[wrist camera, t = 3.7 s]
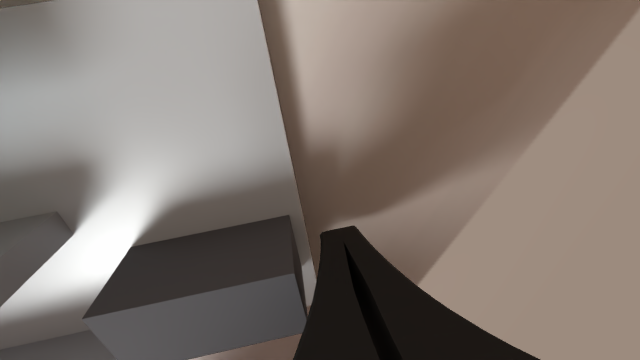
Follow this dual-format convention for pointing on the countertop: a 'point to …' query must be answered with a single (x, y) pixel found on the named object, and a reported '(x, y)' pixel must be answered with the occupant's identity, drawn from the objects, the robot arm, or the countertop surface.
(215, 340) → the grey rectangular prism
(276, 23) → the countertop surface
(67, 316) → the board
